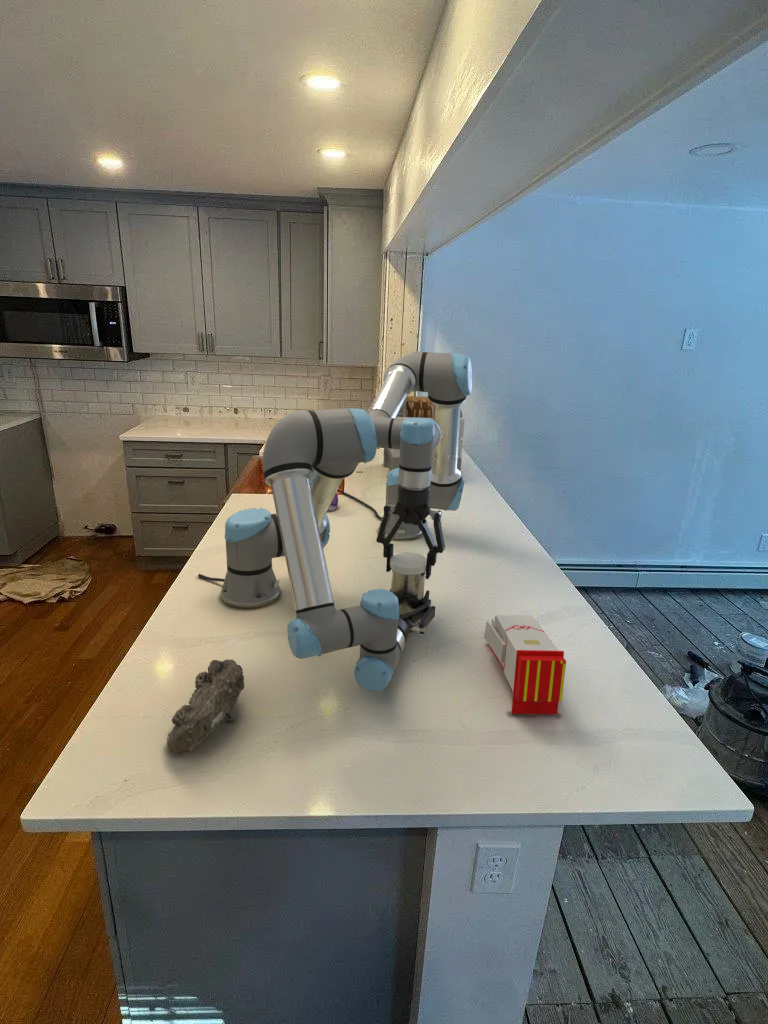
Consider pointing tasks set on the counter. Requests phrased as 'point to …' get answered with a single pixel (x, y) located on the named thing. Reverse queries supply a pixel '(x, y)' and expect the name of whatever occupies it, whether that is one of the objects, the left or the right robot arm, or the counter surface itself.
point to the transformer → (418, 409)
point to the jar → (408, 591)
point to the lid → (408, 563)
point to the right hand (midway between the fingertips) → (408, 573)
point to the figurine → (333, 503)
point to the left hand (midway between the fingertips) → (410, 592)
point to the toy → (527, 663)
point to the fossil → (206, 705)
